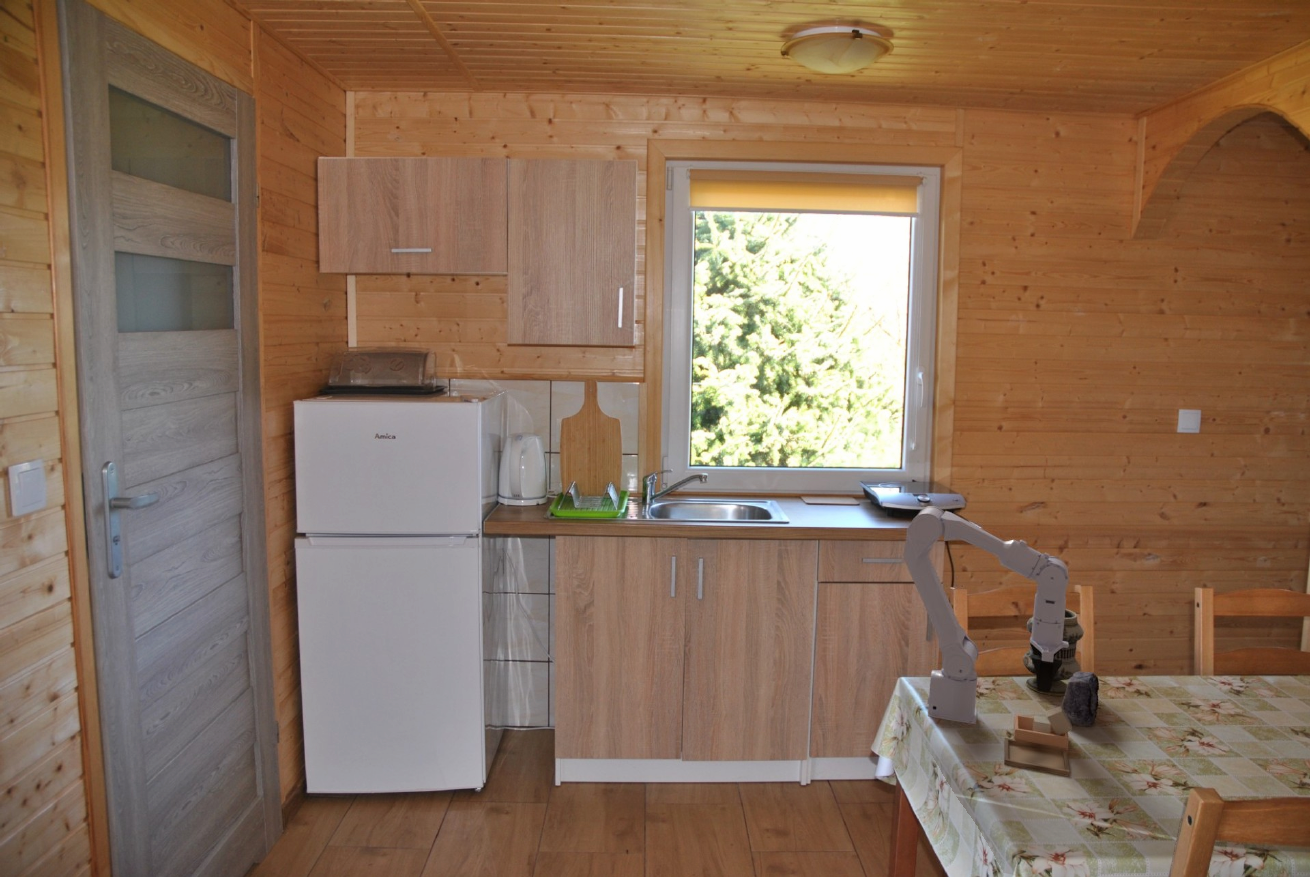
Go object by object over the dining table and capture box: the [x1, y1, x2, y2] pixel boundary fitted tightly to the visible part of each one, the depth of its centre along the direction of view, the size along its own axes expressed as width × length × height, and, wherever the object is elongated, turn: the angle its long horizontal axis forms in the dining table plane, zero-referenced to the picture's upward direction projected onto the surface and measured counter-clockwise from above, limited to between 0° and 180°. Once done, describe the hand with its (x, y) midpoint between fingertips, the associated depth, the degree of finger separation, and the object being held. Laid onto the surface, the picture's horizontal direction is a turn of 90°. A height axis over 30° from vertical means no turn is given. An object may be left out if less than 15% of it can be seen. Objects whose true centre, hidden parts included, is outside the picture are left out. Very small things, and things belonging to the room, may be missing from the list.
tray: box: [1004, 737, 1070, 777], centre depth 173 cm, size 11×10×1 cm
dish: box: [1013, 713, 1070, 753], centre depth 181 cm, size 10×8×3 cm
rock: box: [1061, 670, 1100, 727], centre depth 190 cm, size 10×6×10 cm, turn 142°
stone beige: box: [1045, 705, 1073, 735], centre depth 179 cm, size 4×3×3 cm
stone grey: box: [1033, 715, 1051, 734], centre depth 181 cm, size 4×3×3 cm
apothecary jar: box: [1022, 608, 1085, 697], centre depth 208 cm, size 12×12×18 cm
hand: (1042, 684), depth 184 cm, fingers open, 7 cm apart
